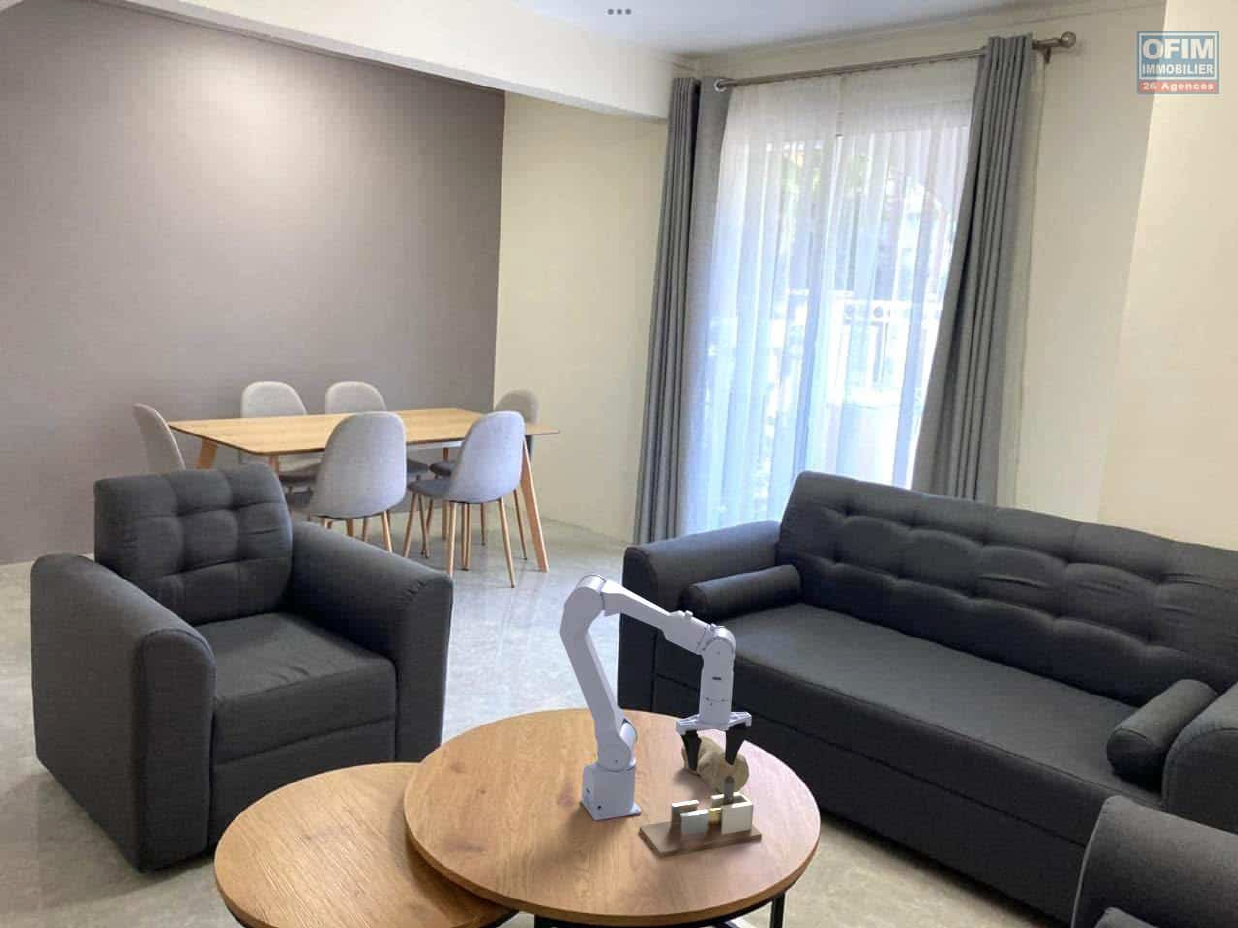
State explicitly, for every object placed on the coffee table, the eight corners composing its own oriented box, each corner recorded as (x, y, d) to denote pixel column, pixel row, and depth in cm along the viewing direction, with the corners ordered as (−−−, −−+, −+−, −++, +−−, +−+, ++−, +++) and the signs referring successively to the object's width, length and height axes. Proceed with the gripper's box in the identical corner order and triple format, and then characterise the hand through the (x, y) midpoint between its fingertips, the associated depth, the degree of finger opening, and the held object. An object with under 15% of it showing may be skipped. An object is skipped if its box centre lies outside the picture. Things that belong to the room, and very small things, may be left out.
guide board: (660, 857, 170) (662, 827, 169) (639, 831, 178) (641, 802, 178) (761, 838, 178) (764, 809, 177) (737, 814, 186) (739, 786, 185)
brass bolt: (690, 832, 175) (693, 786, 174) (683, 823, 178) (686, 778, 177) (745, 822, 180) (748, 777, 178) (737, 814, 182) (740, 770, 181)
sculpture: (702, 791, 188) (737, 750, 189) (666, 749, 204) (698, 712, 205) (730, 814, 192) (764, 775, 193) (692, 772, 207) (724, 735, 208)
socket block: (722, 834, 177) (724, 809, 176) (709, 820, 181) (710, 795, 181) (751, 829, 179) (753, 804, 178) (738, 815, 184) (739, 791, 183)
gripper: (690, 708, 174) (685, 780, 176) (762, 699, 180) (756, 769, 182) (672, 693, 180) (668, 763, 183) (742, 685, 186) (737, 753, 188)
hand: (711, 765), depth 183 cm, fingers open, 7 cm apart
